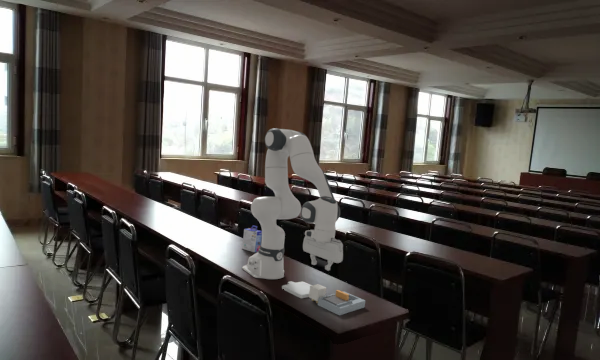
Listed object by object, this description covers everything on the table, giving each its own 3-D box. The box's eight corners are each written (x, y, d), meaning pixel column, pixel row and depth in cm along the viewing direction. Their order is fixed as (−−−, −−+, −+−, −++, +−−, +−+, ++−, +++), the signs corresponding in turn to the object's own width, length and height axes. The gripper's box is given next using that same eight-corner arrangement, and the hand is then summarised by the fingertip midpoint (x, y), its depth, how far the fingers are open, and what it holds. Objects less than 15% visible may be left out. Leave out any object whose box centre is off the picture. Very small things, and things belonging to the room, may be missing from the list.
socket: (317, 305, 181) (318, 296, 181) (342, 297, 193) (343, 289, 193) (339, 315, 173) (340, 306, 173) (364, 307, 185) (365, 298, 184)
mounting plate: (278, 287, 198) (278, 283, 198) (299, 283, 207) (299, 279, 207) (305, 301, 185) (305, 297, 185) (326, 296, 194) (326, 292, 194)
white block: (308, 300, 185) (310, 285, 185) (316, 298, 189) (318, 283, 188) (316, 304, 182) (318, 289, 181) (324, 302, 185) (326, 287, 185)
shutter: (323, 299, 180) (324, 292, 180) (336, 296, 186) (337, 289, 185) (336, 305, 175) (337, 298, 175) (349, 301, 180) (350, 295, 180)
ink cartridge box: (260, 251, 254) (263, 227, 253) (255, 253, 249) (257, 228, 248) (247, 247, 259) (249, 223, 258) (241, 249, 254) (244, 225, 253)
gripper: (348, 240, 177) (344, 273, 179) (312, 229, 192) (308, 259, 193) (338, 242, 173) (334, 275, 174) (302, 230, 187) (298, 261, 189)
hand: (320, 267), depth 184 cm, fingers open, 6 cm apart
